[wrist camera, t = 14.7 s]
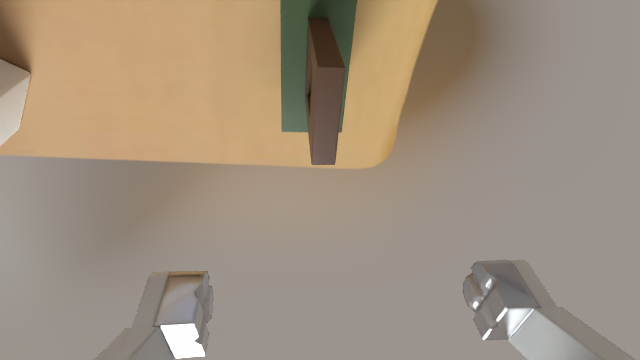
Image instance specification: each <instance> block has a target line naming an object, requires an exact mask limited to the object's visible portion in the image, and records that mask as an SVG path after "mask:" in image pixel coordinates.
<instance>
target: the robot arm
mask: <svg viewBox="0 0 640 360" xmlns="http://www.w3.org/2000/svg"><path fill="white" fill-rule="evenodd" d="M471 269H472V272H473V273H472V274H470V275H468V276H467V277H466V278H465V281H464V283H463V294H464V298H465V300H466V303H467V305H468V307H470V308H471V309H472V310H473V311H474V312H475V316H474V321H475V324H476V326H477V328H478V330H479V333H480V335H481V337H482V339H483V340H501V339H510V340H509V341H510V342H511V343H512V344H513V345H514V346H515V347H516V348H517V349H518V350H519V351H520V352H521V353H522V354H523V355H524V356H525V357H526V358H527V359H528V360H635V359H634V358H632V357H631V356H630V355H628V354H627V353H625V352H624V351H623V350H621V349H620V348H618V347H617V346H616V345H614V344H613V343H611V342H610V341H609V340H607V339H606V338H604V337H603V336H602V335H600V334H599V333H597V332H596V331H594V330H593V329H592V328H591V327H589V326H588V325H586V324H585V323H583V322H582V321H581V320H579V319H578V318H576V317H575V316H574V315H572V314H571V313H569V312H568V311H567V310H565V309H564V308H562V307H557V306H556V304H555V303H554V301H553V300H552V298H551V297H550V295H549V294H548V292H547V291H546V289H545V287H544V286H543V284H542V283H541V281H540V280H539V278H538V277H537V275H536V274H535V272H534V271H533V269H532V268H531V266H530V265H529V263H528V262H526V261H525V260H496V261H478V262H476V263H474V264H473V266H472V267H471ZM212 311H213V290H212V286H210V285H209V274H208V271H186V272H185V271H182V272H152V274H151V275H150V276H149V278H148V281H147V284H146V286H145V289H144V292H143V295H142V298H141V301H140V304H139V307H138V310H137V313H136V316H135V319H134V322H133V325H132V328H125V330H124V331H123V332H121V333H120V334H119V336H117V337H116V338H115V339H114V340H113V341H112V342H111V343H110V344H109V345H108V346H107V347H106V348H105V349H104V350H103V351H102V352H101V353H100V354H99V355H98V356H97V357H96V358H95V359H94V360H174V358H185V357H198V356H205V354H206V348H207V341H208V336H209V331H208V328H207V323H208V321H209V320H210V319H211V317H212Z"/></svg>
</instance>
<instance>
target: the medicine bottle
mask: <svg viewBox="0 0 640 360" xmlns="http://www.w3.org/2000/svg"><path fill="white" fill-rule="evenodd" d="M30 77H31V74H30V73H29V72H28V71H26V70H23V69H21V68H19V67H17V66H15V65H12V64H10V63H8V62H6V61H4V60H2V59H0V146H1V145H2V144H3V143H4V142H5V141H6V140H7V139H9V138H10V137H11V136H12V135H13V134H14V133H15V132H16V131H17V130H18V129H19V128H20V123H21V119H22V114H23V109H24V105H25V100H26V96H27V91H28V86H29V82H30Z"/></svg>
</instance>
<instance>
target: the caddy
mask: <svg viewBox="0 0 640 360" xmlns="http://www.w3.org/2000/svg"><path fill="white" fill-rule="evenodd" d="M356 3H357V0H281V103H282V132H308V134H309V143H310V153H311V162H312V165H335V160H336V151H337V141H338V132H342V124H343V116H344V107H345V98H346V90H347V81H348V72H349V64H350V55H351V46H352V38H353V29H354V21H355V12H356Z"/></svg>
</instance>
